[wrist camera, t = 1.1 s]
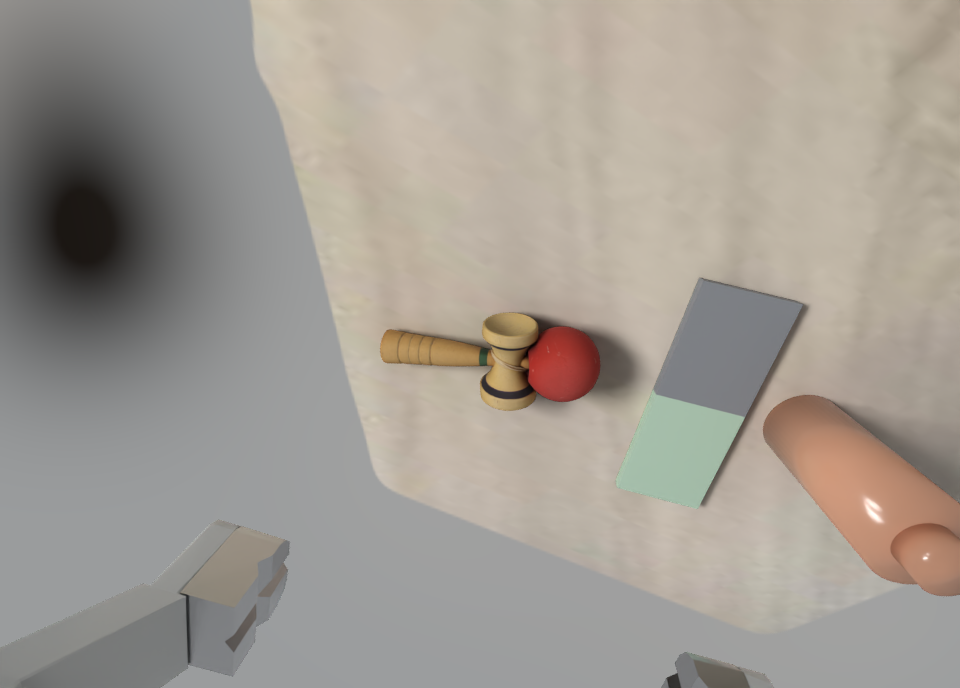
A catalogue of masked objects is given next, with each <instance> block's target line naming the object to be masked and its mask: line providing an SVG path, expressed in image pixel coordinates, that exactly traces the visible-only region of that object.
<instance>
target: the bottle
mask: <svg viewBox="0 0 960 688" xmlns="http://www.w3.org/2000/svg"><path fill="white" fill-rule="evenodd" d="M763 435H764V439H765V441H766V443H767V444H768V445H769V447H770V448H771V449H772V450H773V452H774V453H775V454H776V455H777V456H778V458H779V459H780V460H781V461H782V462H783V464H784V465H785V466H786V467H787V468H788V470H789V471H790V472H791V473H792V475H793V476H794V477H795V478H796V479H797V481H798V482H799V483H800V484H801V485H802V487H803V488H804V489H805V490H806V491H807V493H808V494H809V495H810V496H811V498H812V499H813V500H814V501H815V502H816V504H817V505H818V506H819V507H820V508H821V510H822V511H823V512H824V513H825V514H826V516H827V517H828V518H829V519H830V521H831V522H832V523H833V524H834V525H835V527H836V528H837V529H838V530H839V531H840V533H841V534H842V535H843V536H844V538H845V539H846V540H847V541H848V542H849V544H850V545H851V546H852V547H853V548H854V550H855V551H856V552H857V553H858V554H859V556H860V557H861V558H862V559H863V561H864V562H865V563H866V564H867V565H868V567H869V568H870V569H871V570H872V571H873V572H874V573H876V574H877V575H879V576H880V577H882V578H884V579H886V580H889V581H892V582H897V583H902V584H918V585H919V586H920V587H921V588H922V589H923V590H924V591H926V592H928V593H930V594H934V595H937V596H954V595H960V503H958V502H957V501H956V500H955V499H953V498H952V497H951V496H950V495H948V494H947V493H946V492H944V491H943V490H942V489H941V488H939V487H938V486H937V485H936V484H934V483H933V482H932V481H931V480H929V479H928V478H927V477H926V476H924V475H923V474H922V473H921V472H919V471H918V470H917V469H916V468H914V467H913V466H912V465H910V464H909V463H908V462H907V461H905V460H904V459H903V458H902V457H900V456H899V455H898V454H897V453H895V452H894V451H893V450H892V449H890V448H889V447H888V446H887V445H885V444H884V443H883V442H881V441H880V440H879V439H878V438H876V437H875V436H874V435H873V434H871V433H870V432H869V431H868V430H866V429H865V428H864V427H863V426H861V425H860V424H859V423H858V422H856V421H855V420H854V419H852V418H851V417H850V416H849V415H847V414H846V413H845V412H844V411H842V410H841V409H840V408H839V407H837V406H836V405H835V404H834V403H832V402H831V401H829V400H828V399H825V398H823V397H820V396H815V395H802V396H797V397H793V398H790V399H787V400H785V401H783V402H782V403H780V404H779V405H777V406H776V407H775V408H774V409H773V410H772V411H771V412H770V413H769V414H768V416H767V418H766V420H765V422H764V426H763Z"/></svg>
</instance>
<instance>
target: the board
mask: <svg viewBox="0 0 960 688" xmlns="http://www.w3.org/2000/svg"><path fill="white" fill-rule="evenodd" d="M802 306H803V304H801V303H799V302H797V301H794V300H790V299H786V298H782V297H777V296H773V295H769V294H765V293H761V292H757V291H753V290H748V289H744V288H740V287H736V286H732V285H728V284H723V283H719V282H715V281H711V280H707V279H703V278H699V280H698V282H697V285H696V287H695V289H694V292H693V294H692V297H691V299H690V302H689V304H688V306H687V309H686V311H685V314H684V316H683V319H682V321H681V323H680V326H679V328H678V331H677V333H676V335H675V338H674V340H673V343H672V345H671V348H670V350H669V352H668V355H667V357H666V360H665V362H664V365H663V367H662V369H661V372H660V374H659V377H658V379H657V381H656V384H655V386H654V389H653V391H652V394H651V396H650V398H649V401H648V403H647V406H646V408H645V411H644V413H643V415H642V418H641V420H640V423H639V425H638V428H637V430H636V432H635V435H634V437H633V440H632V442H631V444H630V447H629V449H628V452H627V454H626V457H625V459H624V461H623V464H622V466H621V469H620V471H619V474H618V476H617V478H616V485H617V488H620V489H624V490H628V491H632V492H635V493H639V494H643V495H647V496H650V497H654V498H658V499H662V500H665V501H669V502H673V503H677V504H681V505H684V506H688V507H692V508H696V509H698V507H699V505H700V503H701V501H702V500H703V498H704V496H705V494H706V492H707V490H708V488H709V486H710V484H711V482H712V480H713V478H714V476H715V474H716V472H717V471H718V469H719V467H720V465H721V463H722V461H723V459H724V457H725V455H726V453H727V451H728V449H729V447H730V445H731V443H732V441H733V440H734V438H735V436H736V434H737V432H738V430H739V428H740V426H741V424H742V422H743V420H744V418H745V416H746V414H747V412H748V410H749V409H750V407H751V405H752V403H753V401H754V399H755V397H756V395H757V393H758V391H759V389H760V387H761V385H762V383H763V381H764V380H765V378H766V376H767V374H768V372H769V370H770V368H771V366H772V364H773V362H774V360H775V358H776V356H777V354H778V352H779V350H780V349H781V347H782V345H783V343H784V341H785V339H786V337H787V335H788V333H789V331H790V329H791V327H792V325H793V323H794V321H795V319H796V318H797V316H798V314H799V312H800V310H801V308H802Z"/></svg>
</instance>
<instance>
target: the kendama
mask: <svg viewBox="0 0 960 688" xmlns="http://www.w3.org/2000/svg"><path fill="white" fill-rule="evenodd" d="M482 335H483V338H484V339H485V340H486V341H487V342H488V344H490V345H491V347H492V349H491V350H490V349H486V348H482V347H478V346H474V345H471V344H466V343H462V342H458V341H453V340H448V339H441V338H435V337H429V336H423V335H416V334H412V333H406V332H401V331H396V330H391V329H390V330H387V331H386V332H385V333H384V336H383V338H382V341H381V347H380V353H381V358H382V360H383V361H384V362H385V363H400V364H401V363H405V364H424V365H437V366H493V367H492V369H491V370H490V372H488V373H487V374H485V375H484V376H483V377H482V379H481V381H480V393H481V398H482V399H483V401H484V402H485V403H486V404H488V405H489V406H491V407H493V408H496V409H499V410H504V411H513V410H519V409H523V408H526V407H527V406H529V405H530V404H532V403H533V402H534V400H535V398H536V391H537V392H538V393H539V394H540V395H542V396H543V397H545V398H547V399H550V400H553V401H558V402H568V401H573V400H576V399H579V398H581V397H582V396H584V395H585V394H587V393H588V392H589V391H590V390H591V389H592V388H593V386H594V385H595V383H596V381H597V379H598V376H599V373H600V357H599V353H598V350H597V348H596V346H595V344H594V343H593V341H592V340H591V339H590V338H589V336H587V335H586V334H585V333H583V332H582V331H580V330H577V329H575V328H571V327H564V326H559V327H553V328H550V329H547V330H545V331H543V332H542V333H540V334H538V324H537V322H536V321H535V320H534V319H533V318H531V317H529V316H527V315H523V314H519V313H499V314H495V315H492V316H490V317H488V318H487V319H486V320H485V321H484V322H483V329H482Z"/></svg>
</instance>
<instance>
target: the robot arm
mask: <svg viewBox="0 0 960 688" xmlns="http://www.w3.org/2000/svg"><path fill="white" fill-rule="evenodd" d="M289 544H290V543H289V541H287V540H284V539H280V538H278V537H274V536H271V535H268V534H265V533H261V532H258V531H255V530H252V529H249V528H246V527H242V526H239V525H235V524H232V523H229V522H225V521H222V520H217V521H215V522H214V523H212V524H210V525H209V526H208V527H207V528H206V529H205V530H204V531H203V532H202V533H201V534H200V535H199V536H198V537H197V538H196V539H195V540H194V541H193V542H192V543H191V544H190V545H189V546H188V547H187V548H186V549H185V550H184V551H183V552H182V553H181V554H180V555H179V557H178V558H177V559H176V560H175V561H174V562H173V563H172V564H171V565H170V566H169V567H168V568H167V569H166V570H165V571H164V572H163V573H162V574H161V575H160V576H159V577H158V578H157V579H156V580H155V581H154V582H153V583H152V584H151V585H147V584H141V585H139V586H136V587H134V588H132V589H129V590H127V591H125V592H123V593H121V594H118V595H116V596H114V597H112V598H109V599H107V600H105V601H103V602H101V603H98V604H96V605H94V606H92V607H89V608H87V609H85V610H83V611H81V612H78V613H76V614H74V615H72V616H69V617H68V618H65V619H63V620H61V621H58V622H56V623H54V624H52V625H50V626H47V627H45V628H43V629H41V630H38V631H36V632H34V633H32V634H30V635H27V636H25V637H23V638H21V639H18V640H16V641H14V642H12V643H10V644H8V645H5V646H3V647H1V648H0V688H160V687H162V686H164V685H165V684H166V683H168V682H169V681H170V680H172V679H173V678H175V677H176V676H178V675H179V674H180V673H182V672H183V671H185V670H186V669H187V668H188V665H191V666H195V667H199V668H203V669H206V670H210V671H214V672H218V673H222V674H225V675H229V676H233V675H234V674H235V672H236V671H237V669H238V667H239V666H240V664H241V663H242V661H243V660H244V658H245V656H246V655H247V653H248V651H249V650H250V649H251V647H252V645H253V644H254V642H255V633H256V627H257V626H259V625H260V624H262V623H264V622H265V621H267V620H269V618H270V616H271V615H272V613H273V611H274V610H275V608H276V606H277V605H278V602H279V600H280V598H281V596H282V593H283V591H284V588H285V584H286V580H287V572H288V569H287V568H286V566H285V565H284V563H283V562H284V561H285V559H286V558H287V556H288V555H289ZM675 666H676V669H677V673H676V674H674V675H672V676H669V677H667V678H666V680H665V681H664V684H663V685H662V687H661V688H774V687H773V685H772V683H771V681H770V680H769V679H768V678H767V676H766V675H765V674H763V673H759V672H756V671H752V670H748V669H745V668H741V667H737V666H735V665H733V664H729V663H725V662H721V661H717V660H714V659H710V658H706V657H703V656H699V655H695V654H691V653H687V652H685V653H683V654H680V655H679V657H678V659H677V661H676V662H675Z"/></svg>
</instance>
